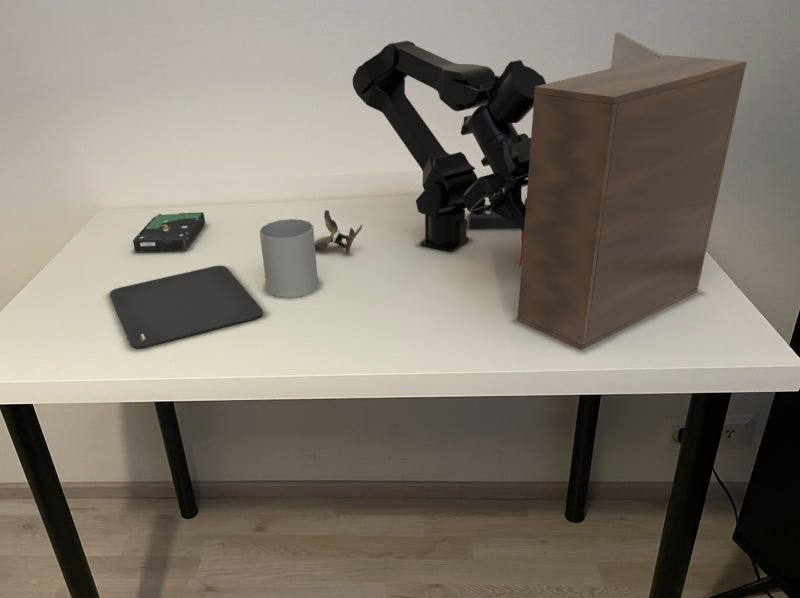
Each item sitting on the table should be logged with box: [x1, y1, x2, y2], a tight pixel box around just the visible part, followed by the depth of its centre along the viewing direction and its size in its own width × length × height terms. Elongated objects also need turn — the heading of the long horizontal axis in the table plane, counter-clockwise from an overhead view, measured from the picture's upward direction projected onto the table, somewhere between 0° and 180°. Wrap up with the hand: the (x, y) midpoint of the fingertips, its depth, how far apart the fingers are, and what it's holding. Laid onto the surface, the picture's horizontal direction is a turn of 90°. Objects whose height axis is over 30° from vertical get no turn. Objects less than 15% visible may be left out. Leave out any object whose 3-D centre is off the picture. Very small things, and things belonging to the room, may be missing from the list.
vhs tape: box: [469, 204, 520, 230], centre depth 134 cm, size 14×8×2 cm, turn 78°
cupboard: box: [517, 54, 748, 351], centre depth 94 cm, size 11×26×32 cm, turn 124°
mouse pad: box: [109, 265, 264, 349], centre depth 114 cm, size 23×20×1 cm
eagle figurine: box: [314, 209, 363, 256], centre depth 127 cm, size 8×7×9 cm
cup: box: [259, 218, 319, 299], centre depth 114 cm, size 8×8×10 cm
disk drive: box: [132, 211, 206, 253], centre depth 140 cm, size 10×3×15 cm
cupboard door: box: [610, 32, 664, 69], centre depth 115 cm, size 6×26×31 cm, turn 173°
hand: (547, 230), depth 106 cm, fingers closed on soda can, 5 cm apart
